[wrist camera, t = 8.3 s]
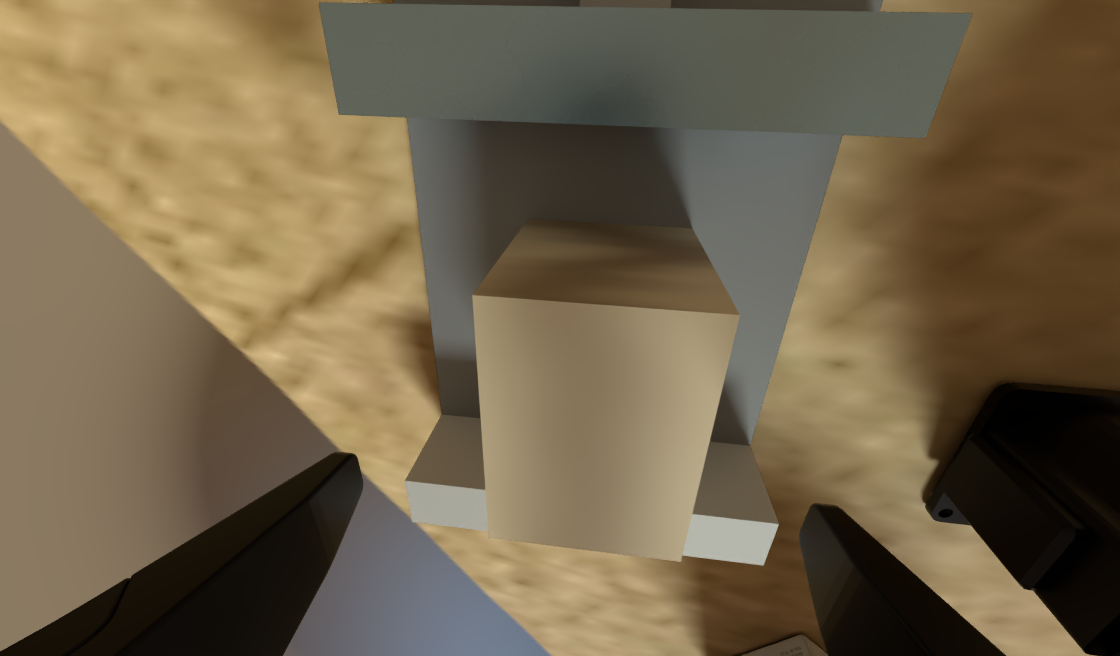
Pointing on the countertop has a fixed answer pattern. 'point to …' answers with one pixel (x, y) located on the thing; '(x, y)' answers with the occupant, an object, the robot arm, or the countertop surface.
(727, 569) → the countertop surface
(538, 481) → the oak block
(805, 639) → the coffee box
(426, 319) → the countertop surface
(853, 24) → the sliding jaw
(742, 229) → the vise bed
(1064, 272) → the countertop surface
